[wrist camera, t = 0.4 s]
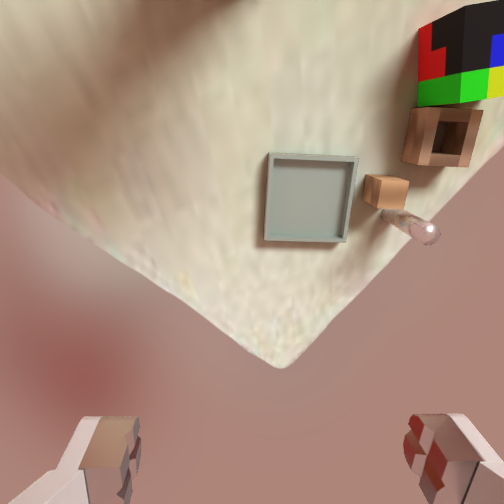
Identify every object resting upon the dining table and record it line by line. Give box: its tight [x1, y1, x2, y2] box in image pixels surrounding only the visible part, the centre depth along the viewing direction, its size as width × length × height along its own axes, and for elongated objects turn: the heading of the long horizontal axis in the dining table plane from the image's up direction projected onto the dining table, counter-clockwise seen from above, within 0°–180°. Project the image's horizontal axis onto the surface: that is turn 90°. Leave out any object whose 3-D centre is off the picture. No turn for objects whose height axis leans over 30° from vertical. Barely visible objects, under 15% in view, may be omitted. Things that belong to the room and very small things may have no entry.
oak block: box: [362, 174, 409, 209], centre depth 52 cm, size 4×4×6 cm
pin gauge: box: [381, 208, 441, 245], centre depth 51 cm, size 3×3×12 cm
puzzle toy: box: [418, 0, 504, 107], centre depth 44 cm, size 10×10×10 cm
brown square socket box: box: [401, 107, 483, 167], centre depth 50 cm, size 8×8×5 cm
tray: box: [263, 153, 359, 243], centre depth 53 cm, size 13×13×2 cm
